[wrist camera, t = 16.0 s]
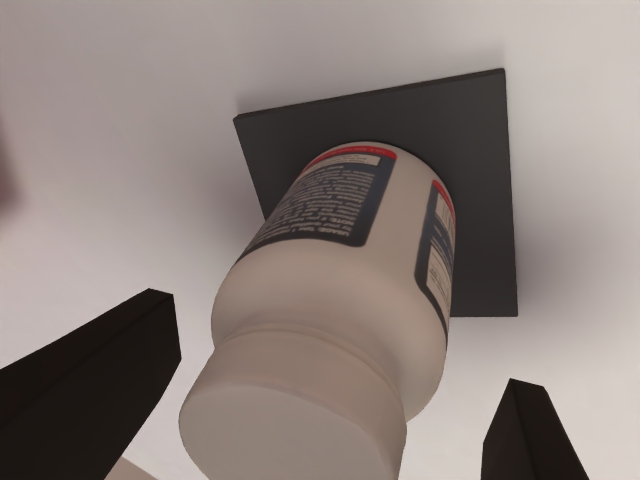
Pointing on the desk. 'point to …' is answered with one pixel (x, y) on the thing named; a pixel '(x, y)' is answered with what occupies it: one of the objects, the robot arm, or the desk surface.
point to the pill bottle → (329, 325)
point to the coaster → (424, 143)
